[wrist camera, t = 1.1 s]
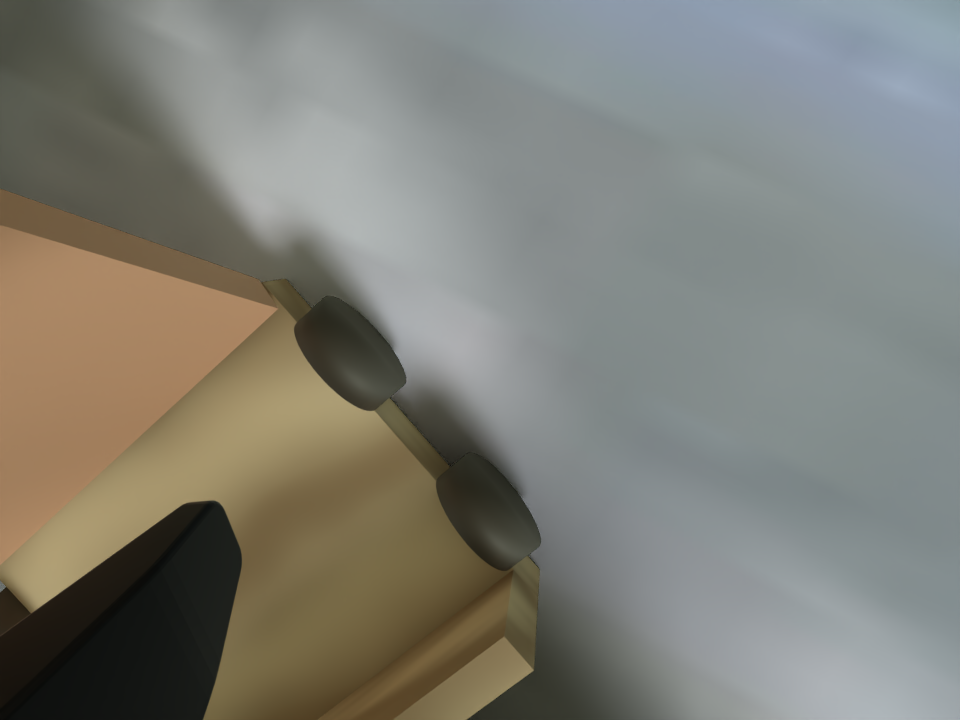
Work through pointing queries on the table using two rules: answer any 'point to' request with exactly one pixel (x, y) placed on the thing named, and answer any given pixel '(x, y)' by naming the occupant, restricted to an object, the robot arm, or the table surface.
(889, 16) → the table surface
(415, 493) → the cart bed
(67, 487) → the tailgate
